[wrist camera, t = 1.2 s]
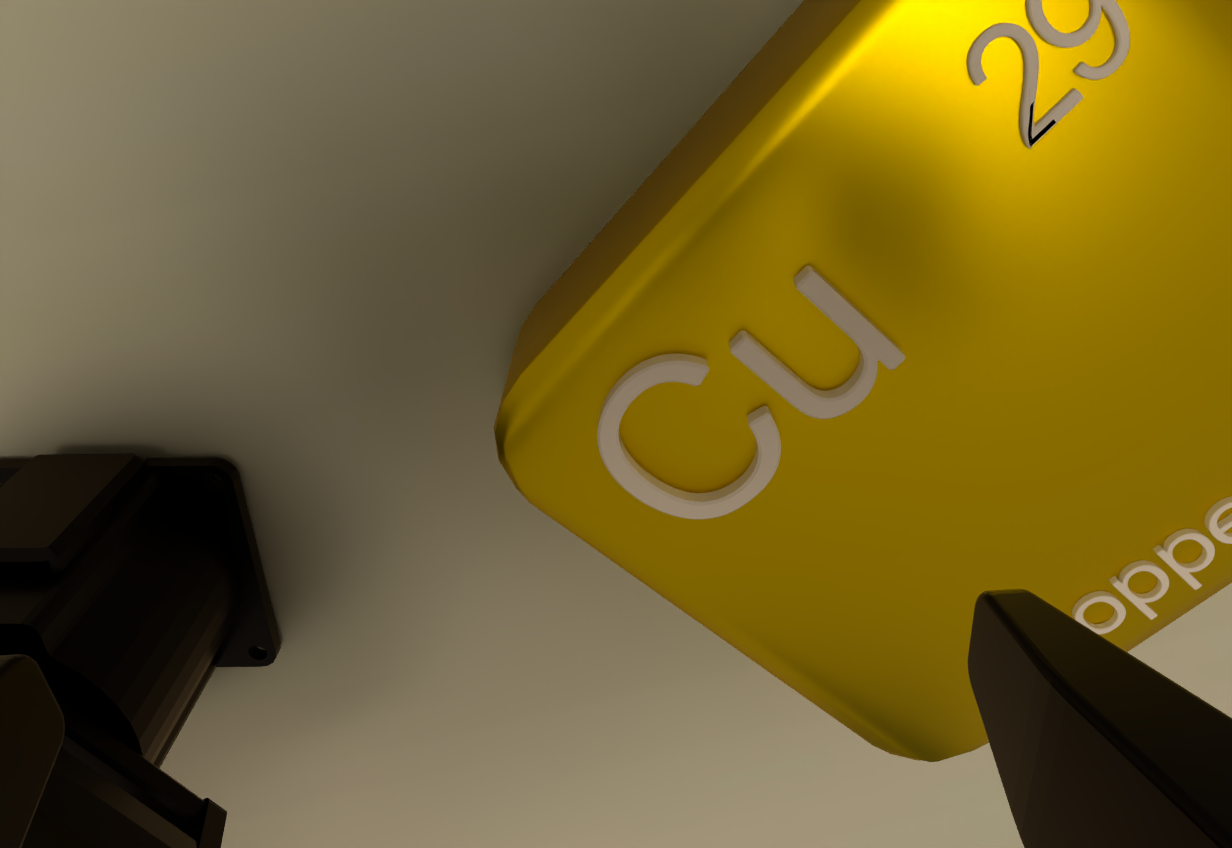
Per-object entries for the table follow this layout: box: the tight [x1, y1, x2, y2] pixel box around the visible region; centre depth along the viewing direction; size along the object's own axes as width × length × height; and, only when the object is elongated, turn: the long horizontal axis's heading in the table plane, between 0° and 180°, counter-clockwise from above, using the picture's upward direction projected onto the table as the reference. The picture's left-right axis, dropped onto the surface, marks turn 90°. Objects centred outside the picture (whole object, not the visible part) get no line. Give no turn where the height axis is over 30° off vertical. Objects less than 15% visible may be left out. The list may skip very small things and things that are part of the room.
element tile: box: [494, 0, 1232, 762], centre depth 19 cm, size 15×15×5 cm
